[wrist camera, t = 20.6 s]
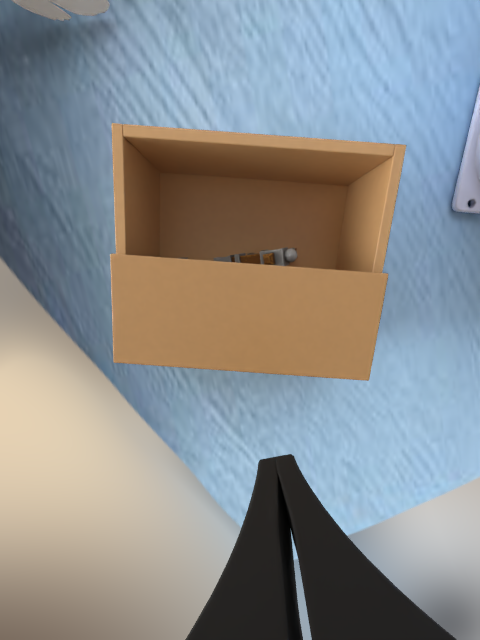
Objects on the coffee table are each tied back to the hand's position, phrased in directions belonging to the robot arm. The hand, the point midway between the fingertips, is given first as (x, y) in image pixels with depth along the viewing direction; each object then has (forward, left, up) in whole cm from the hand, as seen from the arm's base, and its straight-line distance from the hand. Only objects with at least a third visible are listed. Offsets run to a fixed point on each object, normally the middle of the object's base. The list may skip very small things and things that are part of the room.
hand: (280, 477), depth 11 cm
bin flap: (+2, -5, -4) cm, 7 cm away
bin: (+2, -8, -10) cm, 13 cm away
